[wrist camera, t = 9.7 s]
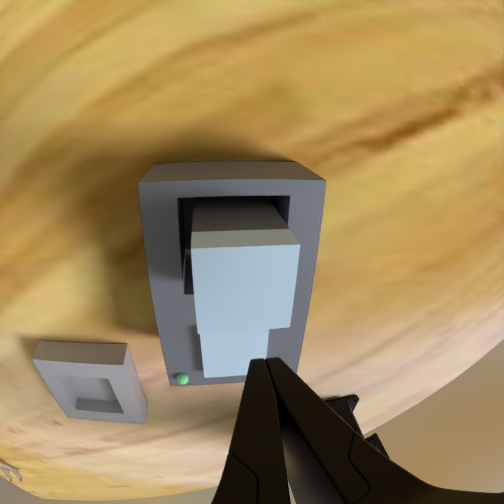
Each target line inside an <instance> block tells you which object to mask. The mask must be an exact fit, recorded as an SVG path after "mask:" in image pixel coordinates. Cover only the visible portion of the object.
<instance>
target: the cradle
mask: <svg viewBox="0 0 504 504" xmlns="http://www.w3.org/2000/svg"><path fill="white" fill-rule="evenodd" d="M32 361H33V363H34V364H35V366H36V368H37V370H38V372H39V373H40V375H41V377H42V378H43V380H44V382H45V384H46V385H47V387H48V389H49V390H50V392H51V393H52V395H53V397H54V398H55V400H56V401H57V403H58V404H59V406H60V407H61V409H62V410H63V412H64V413H65V415H66V416H67V417H69V418H77V419H85V420H94V421H105V422H118V423H136V424H146V422H147V408H148V404H147V401H146V398H145V396H144V393H143V390H142V387H141V384H140V381H139V378H138V375H137V372H136V369H135V366H134V363H133V360H132V357H131V354H130V350H129V347H128V344H106V343H77V342H58V341H44V340H40V342H39V344H38V346H37V348H36V350H35V352H34V355H33V357H32Z"/></svg>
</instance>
